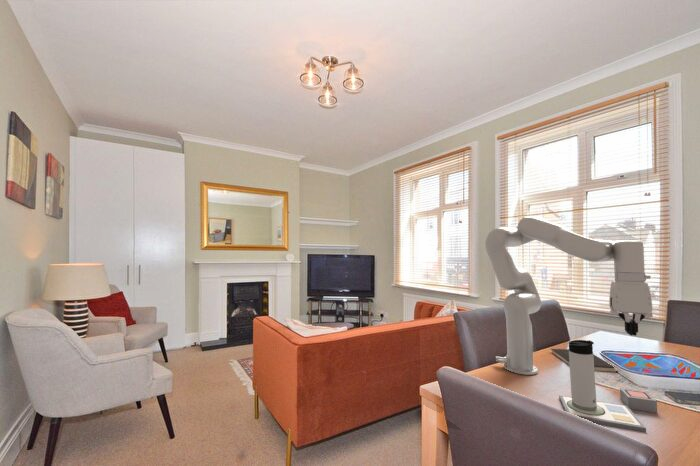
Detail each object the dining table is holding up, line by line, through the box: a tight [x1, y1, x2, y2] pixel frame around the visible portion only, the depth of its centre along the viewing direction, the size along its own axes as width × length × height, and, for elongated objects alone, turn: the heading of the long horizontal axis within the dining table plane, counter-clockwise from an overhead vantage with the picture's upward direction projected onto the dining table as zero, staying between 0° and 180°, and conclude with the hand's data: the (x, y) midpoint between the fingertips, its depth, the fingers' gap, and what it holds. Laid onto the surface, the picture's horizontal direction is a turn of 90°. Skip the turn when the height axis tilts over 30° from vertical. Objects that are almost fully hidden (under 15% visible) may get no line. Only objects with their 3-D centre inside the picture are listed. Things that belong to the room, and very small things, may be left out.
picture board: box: [558, 395, 647, 433], centre depth 98 cm, size 18×14×1 cm
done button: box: [626, 390, 649, 399], centre depth 103 cm, size 4×4×2 cm
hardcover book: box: [550, 348, 617, 373], centre depth 144 cm, size 16×23×2 cm
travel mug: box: [568, 339, 597, 411], centre depth 101 cm, size 6×7×20 cm
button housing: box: [619, 387, 658, 413], centre depth 103 cm, size 7×7×4 cm
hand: (631, 334), depth 105 cm, fingers closed
